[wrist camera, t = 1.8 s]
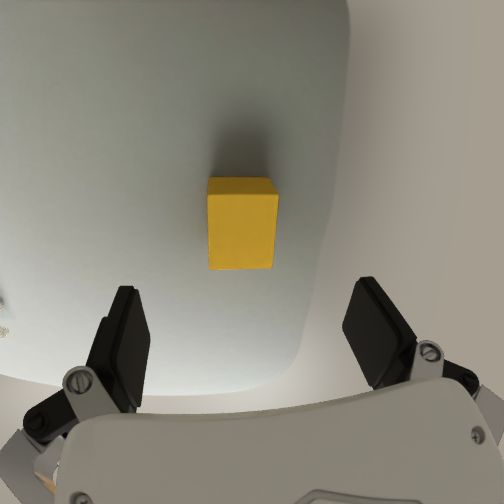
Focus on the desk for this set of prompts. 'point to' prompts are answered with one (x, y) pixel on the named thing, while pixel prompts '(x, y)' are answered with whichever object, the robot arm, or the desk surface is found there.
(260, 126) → the desk surface
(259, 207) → the yellow block
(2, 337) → the figurine
